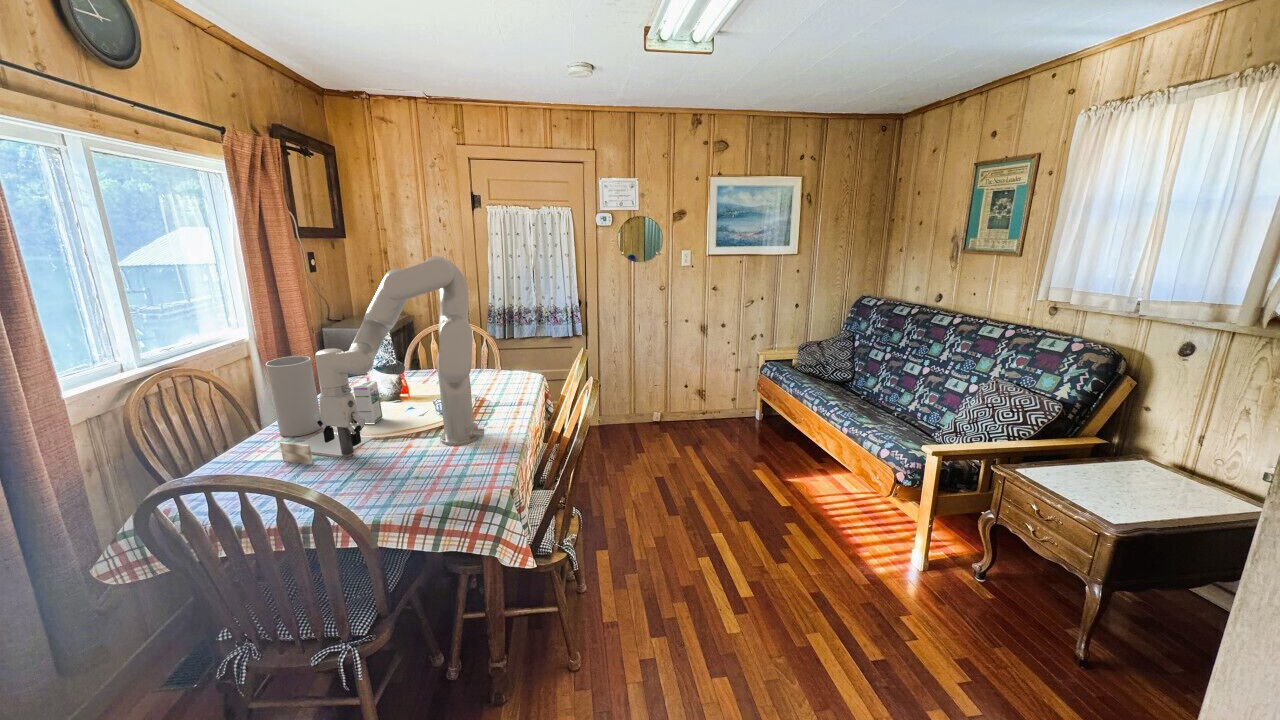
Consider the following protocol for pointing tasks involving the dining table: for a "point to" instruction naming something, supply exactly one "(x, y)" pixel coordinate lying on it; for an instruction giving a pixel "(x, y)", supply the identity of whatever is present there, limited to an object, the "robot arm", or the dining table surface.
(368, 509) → the dining table surface
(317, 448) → the notepad
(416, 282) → the robot arm
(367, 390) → the syrup box
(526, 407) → the dining table surface
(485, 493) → the dining table surface
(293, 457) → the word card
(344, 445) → the marker
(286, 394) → the cylinder vase
